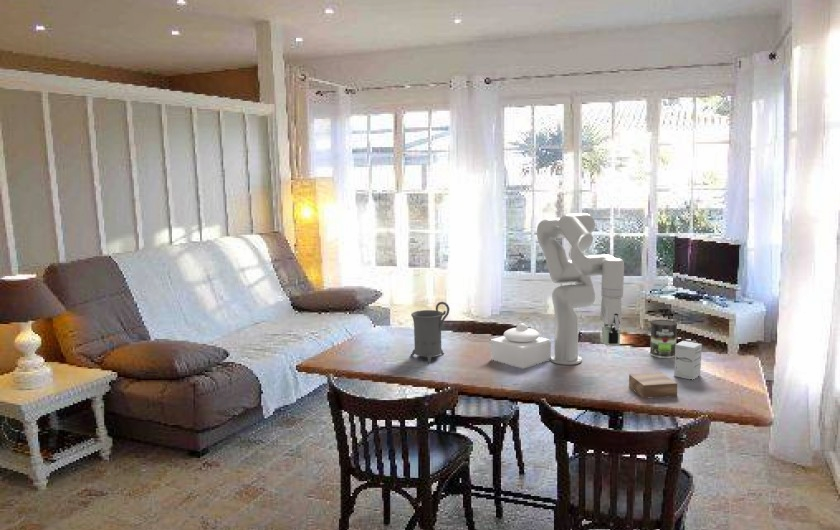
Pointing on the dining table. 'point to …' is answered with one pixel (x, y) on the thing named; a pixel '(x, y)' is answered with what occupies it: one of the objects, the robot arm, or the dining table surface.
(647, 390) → the walnut box
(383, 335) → the dining table surface
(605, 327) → the green block
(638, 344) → the dining table surface
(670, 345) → the coffee can
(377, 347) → the dining table surface
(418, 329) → the mug
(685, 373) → the supplement box
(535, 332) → the white lidded container
